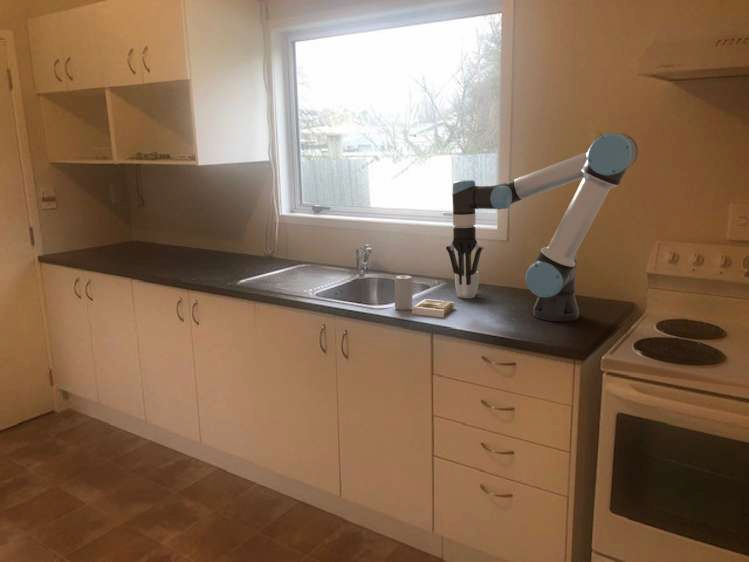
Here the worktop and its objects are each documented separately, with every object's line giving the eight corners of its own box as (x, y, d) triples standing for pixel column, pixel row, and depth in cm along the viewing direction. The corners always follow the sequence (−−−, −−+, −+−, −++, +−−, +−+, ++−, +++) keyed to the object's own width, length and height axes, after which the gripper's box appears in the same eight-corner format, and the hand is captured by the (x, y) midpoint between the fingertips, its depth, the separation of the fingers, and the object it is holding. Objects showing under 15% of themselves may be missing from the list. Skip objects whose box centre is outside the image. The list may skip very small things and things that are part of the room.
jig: (454, 308, 225) (454, 302, 225) (443, 317, 214) (443, 310, 214) (424, 305, 230) (425, 299, 229) (412, 314, 219) (412, 307, 218)
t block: (451, 309, 224) (451, 301, 223) (443, 316, 216) (443, 308, 215) (428, 307, 228) (428, 299, 227) (419, 313, 220) (419, 305, 219)
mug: (470, 300, 236) (471, 275, 234) (450, 297, 242) (450, 272, 239) (486, 294, 246) (487, 269, 244) (467, 291, 251) (467, 266, 249)
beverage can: (411, 306, 229) (411, 274, 226) (413, 311, 223) (413, 278, 220) (394, 306, 229) (394, 275, 226) (395, 311, 223) (395, 278, 220)
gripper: (486, 225, 211) (486, 292, 216) (449, 224, 217) (450, 290, 221) (479, 227, 204) (480, 297, 209) (442, 227, 210) (443, 295, 215)
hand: (465, 293), depth 215 cm, fingers closed
